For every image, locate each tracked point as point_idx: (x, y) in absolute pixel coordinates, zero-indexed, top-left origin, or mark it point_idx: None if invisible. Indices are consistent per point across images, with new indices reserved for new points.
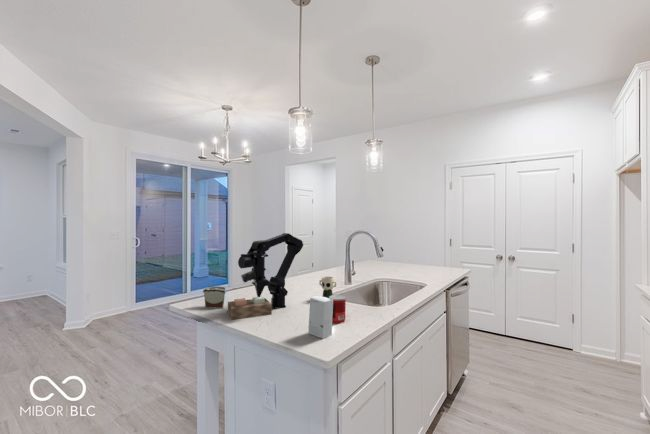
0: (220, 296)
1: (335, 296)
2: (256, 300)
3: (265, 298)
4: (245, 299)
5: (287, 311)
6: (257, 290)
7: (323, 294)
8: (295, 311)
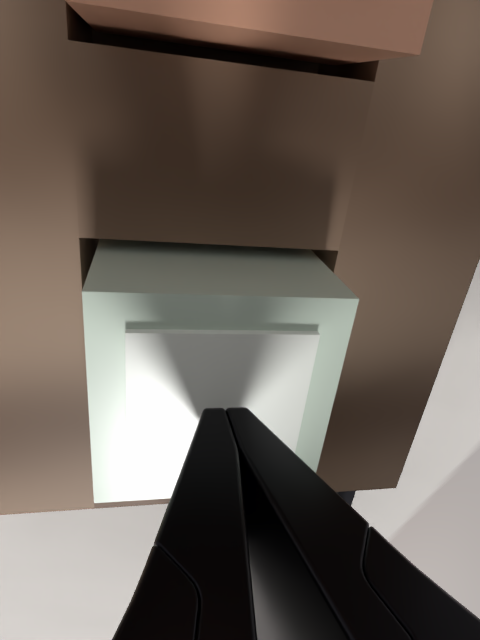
0: None
1: None
2: (90, 326)
3: (358, 488)
4: (251, 28)
5: (58, 552)
6: (135, 595)
7: None
8: (27, 605)
